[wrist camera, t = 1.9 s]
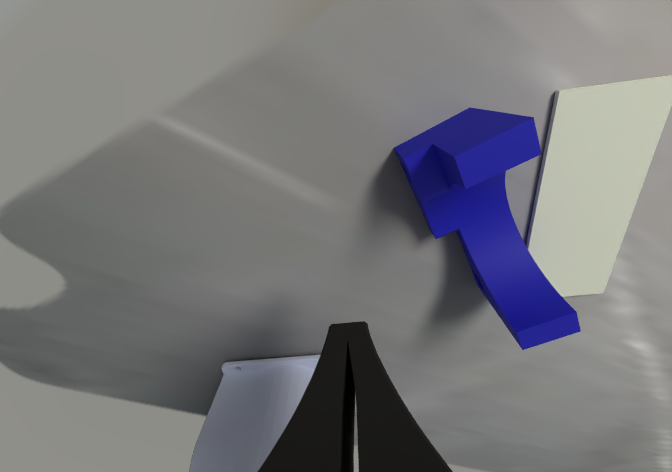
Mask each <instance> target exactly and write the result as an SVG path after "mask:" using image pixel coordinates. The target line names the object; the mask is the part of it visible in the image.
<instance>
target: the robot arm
mask: <svg viewBox="0 0 672 472" xmlns="http://www.w3.org/2000/svg"><path fill="white" fill-rule="evenodd" d="M221 369H222V372H223V374H224V375H223V378H222V380H221V383H220V385H219V388H218V390H217V392H216V395H215V397H214V400H213V402H212V405H211V407H210V410H209V412H208V415H207V417H206V420H205V422H204V425H203V427H202V430H201V432H200V435H199V437H198V440H197V442H196V445H195V448H194V451H193V455H192V459H191V464H190V469H189V472H353V471H354V465H353V464H354V463H353V453H354V416H355V392H356V402H357V428H358V457H359V472H452V470H451V469H450V468H449V467H448V465H447V464H446V462H445V461H444V460H443V458H442V457H441V456H440V454H439V453H438V452H437V451H436V449H435V448H434V447H433V445H432V444H431V443H430V441H429V440H428V438H427V437H426V436H425V434H424V433H423V431H422V430H421V428H420V427H419V426H418V424H417V423H416V421H415V420H414V418H413V417H412V415H411V413H410V412H409V410H408V409H407V407H406V406H405V404H404V402H403V401H402V399H401V397H400V396H399V394H398V392H397V391H396V389H395V387H394V385H393V384H392V382H391V380H390V378H389V376H388V374H387V372H386V370H385V368H384V366H383V364H382V362H381V360H380V358H379V356H378V354H377V352H376V349H375V347H374V344H373V342H372V339H371V336H370V333H369V329H368V325H367V323H366V322H364V321H363V322H352V323H341V324H332V325H331V326H329V330H328V334H327V338H326V341H325V344H324V347H323V350H322V353H321V355H309V356H297V357H284V358H272V359H259V360H247V361H235V362H225V363H224V364H223V365H222V368H221Z"/></svg>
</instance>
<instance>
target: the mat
mask: <svg viewBox="0 0 672 472" xmlns="http://www.w3.org/2000/svg"><path fill="white" fill-rule="evenodd" d="M671 106H672V75H668V76H661V77H653V78H646V79H638V80H631V81H624V82H616V83H609V84H601V85H594V86H587V87H579V88H572V89H564V90H557V91H556V93H555V98H554V103H553V108H552V113H551V118H550V124H549V129H548V134H547V139H546V144H545V149H544V154H543V160H542V165H541V170H540V175H539V180H538V185H537V191H536V196H535V201H534V206H533V211H532V216H531V221H530V227H529V232H528V237H527V242H526V247H527V249H528V251H529V252H530V254H531V256H532V257H533V259H534V261H535V262H536V264H537V265H538V267H539V268H540V270H541V271H542V272H543V274H544V275H545V277H546V278H547V279H548V281H549V282H550V283H551V285H552V286H553V287H554V288H555V290H556V291H557V292H558V293H559V294H560V295H561V297H566V296H577V295H588V294H599V293H604V290H605V287H606V284H607V282H608V279H609V276H610V273H611V271H612V268H613V265H614V262H615V260H616V257H617V254H618V251H619V249H620V246H621V243H622V240H623V238H624V235H625V232H626V229H627V227H628V224H629V221H630V218H631V216H632V213H633V210H634V207H635V205H636V202H637V199H638V196H639V194H640V191H641V188H642V185H643V183H644V180H645V177H646V174H647V172H648V169H649V166H650V163H651V161H652V158H653V155H654V152H655V150H656V147H657V144H658V141H659V139H660V136H661V133H662V130H663V128H664V125H665V122H666V119H667V117H668V114H669V111H670V108H671Z"/></svg>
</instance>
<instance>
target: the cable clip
mask: <svg viewBox="0 0 672 472" xmlns="http://www.w3.org/2000/svg"><path fill="white" fill-rule="evenodd" d="M394 149H395V151H396V154H397V156H398V158H399V161H400V163H401V165H402V167H403V170H404V172H405V174H406V176H407V179H408V181H409V183H410V185H411V188H412V190H413V192H414V195H415V197H416V199H417V201H418V204H419V206H420V208H421V210H422V213H423V215H424V217H425V220H426V222H427V224H428V226H429V229H430V230H431V232H432V234H433V235H434V237H435V238H436V239H437V238H440V237H442V236H444V235H447V234H449V233H451V232H453V231H456V232H457V234H458V237H459V239H460V242H461V244H462V247H463V249H464V252H465V254H466V257H467V259H468V262H469V264H470V267H471V269H472V272H473V274H474V277H475V280H476V282H477V285H478V287H479V288H480V289H481V291H482V292H483V294H484V295H485V297H486V298H487V299H488V301H489V302H490V304H491V305H492V307H493V308H494V309H495V311H496V312H497V314H498V315H499V317H500V318H501V319H502V321H503V322H504V324H505V325H506V327H507V328H508V330H509V331H510V332H511V334H512V335H513V337H514V338H515V340H516V341H517V342H518V344H519V345H520V347H521V348H522V350H524V349H527V348H530V347H534V346H537V345H540V344H543V343H546V342H549V341H552V340H555V339H558V338H561V337H564V336H567V335H571V334H574V333H577V332H580V326H579V322H578V317H577V313H576V311H575V310H574V309H573V308H572V307H571V306H570V305H569V304H568V303H567V302H566V301H565V300H564V299H563V298H562V297H561V295H560V294H559V293H558V292H557V291H556V290H555V288H554V287H553V286H552V285H551V283H550V282H549V281H548V279H547V278H546V277H545V275H544V274H543V272H542V271H541V270H540V268H539V267H538V265H537V264H536V262H535V261H534V259H533V257H532V256H531V254H530V252H529V251H528V249H527V247H526V245H525V243H524V241H523V240H522V238H521V236H520V233H519V231H518V229H517V227H516V225H515V222H514V219H513V217H512V214H511V211H510V208H509V204H508V200H507V196H506V189H505V172H506V170H508V169H510V168H513V167H515V166H517V165H519V164H521V163H523V162H525V161H528V160H530V159H532V158H534V157H536V156H538V155H540V154H541V150H540V145H539V140H538V136H537V131H536V127H535V122H534V118H533V117H527V116H521V115H514V114H508V113H501V112H495V111H488V110H482V109H476V108H468V109H466V110H464V111H463V112H461V113H459V114H457V115H455V116H453V117H451V118H449V119H447V120H446V121H444V122H442V123H440V124H438V125H436V126H434V127H432V128H430V129H429V130H427V131H425V132H423V133H421V134H419V135H417V136H415V137H413V138H412V139H410V140H408V141H406V142H404V143H402V144H400V145H398V146H396V147H395V148H394Z"/></svg>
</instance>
